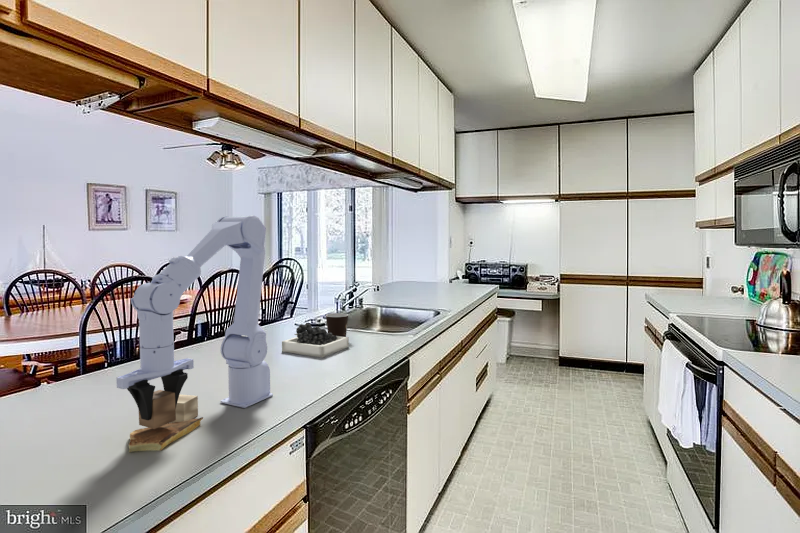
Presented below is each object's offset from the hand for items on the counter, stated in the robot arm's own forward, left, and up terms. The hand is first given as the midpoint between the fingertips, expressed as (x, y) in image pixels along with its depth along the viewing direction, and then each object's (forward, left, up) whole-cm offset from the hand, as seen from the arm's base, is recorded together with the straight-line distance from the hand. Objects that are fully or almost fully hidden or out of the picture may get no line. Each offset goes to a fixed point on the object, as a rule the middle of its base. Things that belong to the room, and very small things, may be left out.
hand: (158, 414), depth 85 cm
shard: (0, 0, -5) cm, 5 cm away
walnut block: (0, 0, -2) cm, 2 cm away
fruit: (-70, -15, -4) cm, 72 cm away
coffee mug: (-86, -16, -5) cm, 88 cm away
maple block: (-8, -4, -5) cm, 10 cm away
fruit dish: (-70, -15, -5) cm, 72 cm away
